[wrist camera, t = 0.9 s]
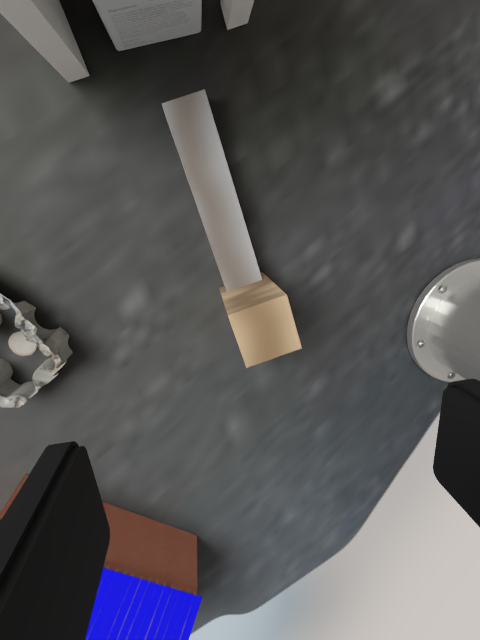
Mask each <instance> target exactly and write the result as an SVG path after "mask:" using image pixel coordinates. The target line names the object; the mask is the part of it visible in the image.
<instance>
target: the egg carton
mask: <svg viewBox="0 0 480 640" xmlns="http://www.w3.org/2000/svg"><path fill="white" fill-rule="evenodd" d="M11 307H13V309H14V310H15V311H16V316H15V327H17V328H19V329H20V332H19V331H18V332H15V333H13V334H12V335H11V336H10V338H9V342H8V343H9V347H10V348H11V350H12V351H13V352H14V353H15V354H17V355H20V356H30V355H32V354H34V353H35V352H36V350H37V346H38V347H39V349H40V351H42V353H43V354H44V355H46V356H47V357H49V358H48V359H47V360H46V361H45V362H43V363H42V364H41V365H40V367H39V368H38V369H37V370H36V371H35V372H34V374H33V379H32V380H33V382H25V383H23V384H21V385H19V384H17V383H16V382H14V381H13V380H12V379H11V376H12V374H13V369H12V367H11V365H10V364H9V363H8V362H7V361H5V360H4V359H1V358H0V407H10V408H17V407H21V406H22V405H23V404H25V402H26V401H27V400H28V399H30V398H31V397H32V396H33V395H35V394H36V393H37V392H38V390H39V389H40V388H41V387H43V386H44V385H46V384H48V383H49V382H50V381H51V380H52V379H54V378H55V377H56V376H57V375H58V374H59V373H56V372H57V371H58V370H59V369H60V368H62V366H63V365H64V364H65V363H66V362H67V361H66V360H67V359H68V358H69V356H70V355H71V354H72V353H73V352H72V350H71V349H70V347H69V345H68V339H69V334H68V333H67V332H66V331H65V330H63V329H62V328H60V327H59V328H57V329H53V330H48V329H45V328H42V327H41V326H39V325H38V324H37V322H36V320H35V317H34V313H35V310H36V307H34V306H33V305H31V304H29V303H27V302H26V301H21V302H17V303H14V302H12V301H11V300H9V299H8V298H6V297H5V296H3V295H2V294H0V309H2V310H7V309H9V308H11ZM1 323H2V316H1V314H0V325H1Z"/></svg>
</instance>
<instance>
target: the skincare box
mask: <svg viewBox="0 0 480 640" xmlns="http://www.w3.org/2000/svg"><path fill="white" fill-rule="evenodd" d="M92 1H93V3H94V5H95V7H96V9H97V11H98V13H99V15H100V17H101V19H102V21H103V23H104V25H105V28H106V30H107V32H108V34H109V36H110V38H111V40H112V42H113V44H114V46H115V48H116V50H117V51H123V50H127V49H131V48H136V47H140V46H144V45H148V44H153V43H157V42H162V41H166V40H171V39H175V38H179V37H184V36H188V35H192V34H196V33H199V32H201V18H202V0H92Z"/></svg>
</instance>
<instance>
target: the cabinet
mask: <svg viewBox="0 0 480 640" xmlns="http://www.w3.org/2000/svg"><path fill="white" fill-rule="evenodd" d="M253 3H254V0H221V1H220V5H221V9H222V12H223V16H224V20H225V24H226V27H227V30H229V29H232V28H235V27H238V26H241V25H244V24H247V23H248V21H249V17H250V14H251V10H252V7H253ZM0 13H1V14H2V15H3V16H4V17H5V18H6V19H7V20H8V21H9V22H10V23H11V24H12V25H13V26H14V27H15V28H16V29H17V30H18V31H19V33H20V34H21V35H22V36H23V37H24V38H25V39H26V40H27V41H28V42H29V43H30V44H31V45H32V46H33V47H34V48H35V49H36V50H37V51H38V52H39V53H40V54H41V55H42V56H43V57H44V58H45V59H46V60H47V61H48V62H49V63H50V64H51V65H52V66H53V67H54V68H55V69H56V70H57V71H58V72H59V73H60V74H61V75H62V76H63V77H64V78H65V79H66V80H67V81H68V82H69V83H70V82H73V81H76V80H79V79H82V78H85V77H88V76H90V75H89V73H88V70H87V68H86V65H85V63H84V60H83V58H82V55H81V53H80V50H79V48H78V45H77V43H76V40H75V38H74V35H73V33H72V31H71V28H70V26H69V23H68V21H67V18H66V16H65V13H64V11H63V8H62V6H61V3H60V1H59V0H0Z"/></svg>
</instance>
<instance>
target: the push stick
mask: <svg viewBox="0 0 480 640" xmlns="http://www.w3.org/2000/svg"><path fill="white" fill-rule="evenodd" d="M162 107H163V110H164V113H165V116H166V119H167V122H168V125H169V128H170V131H171V133H172V136H173V139H174V142H175V145H176V148H177V151H178V154H179V156H180V159H181V162H182V165H183V168H184V171H185V174H186V177H187V179H188V182H189V185H190V188H191V191H192V194H193V197H194V200H195V202H196V205H197V208H198V211H199V214H200V217H201V220H202V223H203V225H204V228H205V231H206V234H207V237H208V240H209V243H210V246H211V248H212V251H213V254H214V257H215V260H216V263H217V266H218V269H219V271H220V274H221V277H222V280H223V283H224V286H222V287H219V289H220V292H221V295H222V299H223V302H224V305H225V308H226V311H227V314H228V317H229V320H230V323H231V326H232V328H233V331H234V334H235V337H236V340H237V342H238V345H239V348H240V351H241V354H242V357H243V359H244V362H245V365H246V368H248V367H250V366H253V365H256V364H259V363H262V362H265V361H267V360H270V359H273V358H276V357H279V356H281V355H284V354H287V353H290V352H293V351H296V350H298V349H301V348H302V347H301V344H300V340H299V336H298V333H297V329H296V326H295V322H294V319H293V315H292V311H291V308H290V304H289V301H288V297H287V294H286V293H284V292H283V291H282V290H281V289H280V288H279V287H278V286H277V285H276V284H275V283H274V282H272V281H271V280H270V279H269V278H268V277H267V276H266V275H265V274H264V273H263V272H262V273H260V270H259V267H258V264H257V260H256V257H255V254H254V250H253V247H252V244H251V241H250V237H249V234H248V231H247V227H246V224H245V221H244V217H243V214H242V211H241V208H240V204H239V201H238V198H237V194H236V191H235V188H234V184H233V181H232V178H231V175H230V171H229V168H228V165H227V161H226V158H225V155H224V151H223V148H222V145H221V141H220V138H219V135H218V132H217V128H216V125H215V122H214V118H213V115H212V112H211V108H210V105H209V102H208V99H207V95H206V92H205V89H204V90H201V91H198V92H195V93H192V94H189V95H186V96H183V97H180V98H177V99H174V100H171V101H168V102H165V103H162Z"/></svg>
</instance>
